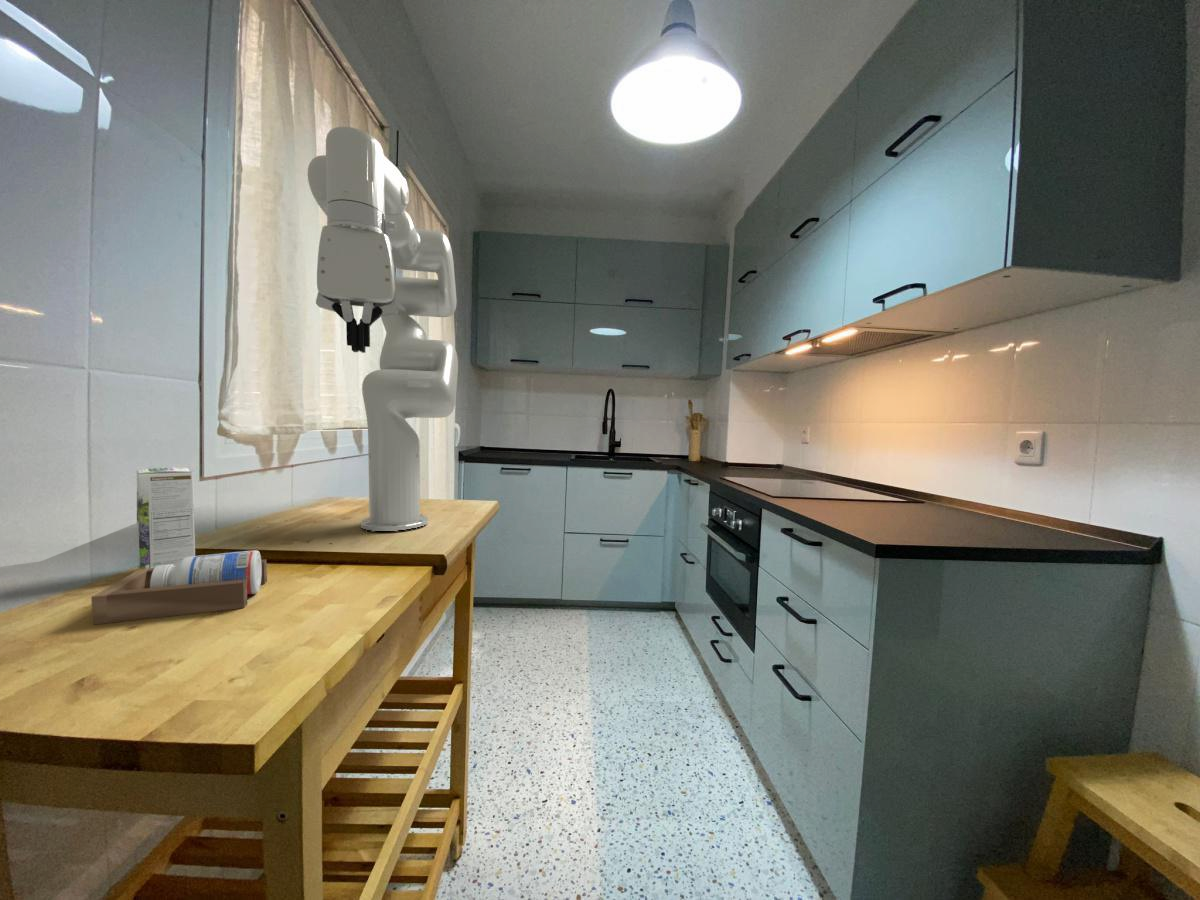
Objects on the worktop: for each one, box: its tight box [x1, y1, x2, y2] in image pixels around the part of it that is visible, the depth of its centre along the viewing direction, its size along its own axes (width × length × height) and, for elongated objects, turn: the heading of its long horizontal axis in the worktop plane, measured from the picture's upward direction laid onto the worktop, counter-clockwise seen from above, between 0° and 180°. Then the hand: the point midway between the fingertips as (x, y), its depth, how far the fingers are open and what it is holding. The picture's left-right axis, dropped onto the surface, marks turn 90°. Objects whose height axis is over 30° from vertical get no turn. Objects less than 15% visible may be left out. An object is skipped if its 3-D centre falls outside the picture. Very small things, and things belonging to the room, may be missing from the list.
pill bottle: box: [150, 549, 262, 596], centre depth 57 cm, size 6×5×10 cm
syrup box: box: [136, 466, 196, 570], centre depth 66 cm, size 6×6×14 cm
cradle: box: [90, 558, 268, 625], centre depth 56 cm, size 9×13×3 cm
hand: (358, 351), depth 70 cm, fingers closed
